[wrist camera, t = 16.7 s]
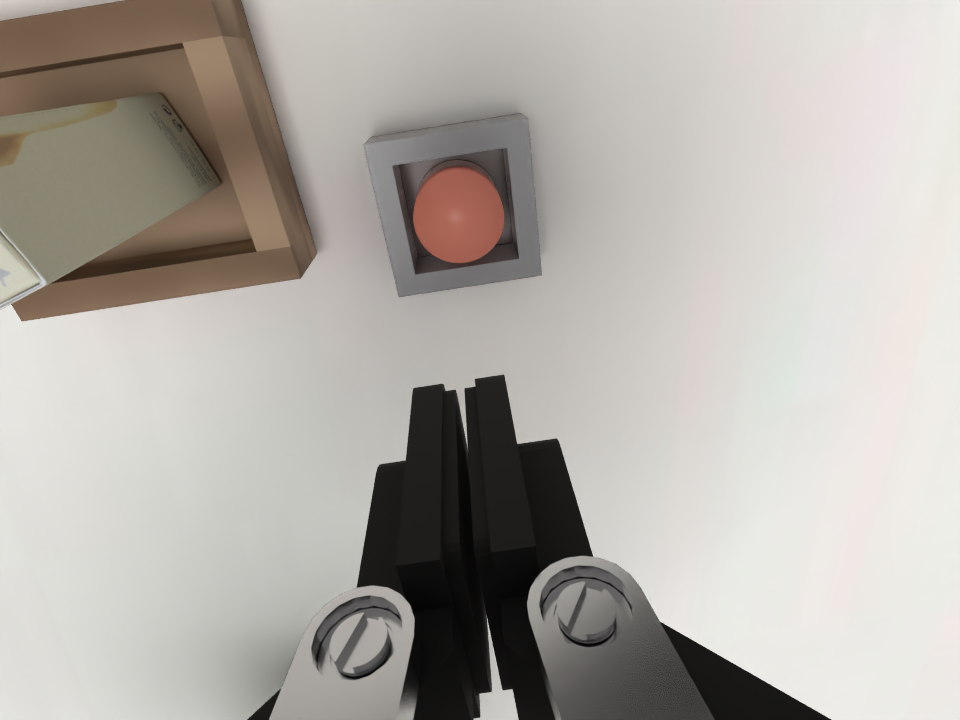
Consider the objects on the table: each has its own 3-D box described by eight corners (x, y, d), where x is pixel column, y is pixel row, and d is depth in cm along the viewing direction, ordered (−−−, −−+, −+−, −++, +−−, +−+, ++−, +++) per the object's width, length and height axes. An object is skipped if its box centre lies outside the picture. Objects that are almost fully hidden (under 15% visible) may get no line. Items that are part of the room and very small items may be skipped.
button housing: (534, 258, 28) (541, 275, 26) (402, 278, 28) (398, 297, 26) (520, 113, 25) (527, 118, 23) (370, 137, 25) (363, 144, 23)
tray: (316, 253, 27) (300, 278, 24) (68, 292, 28) (22, 321, 25) (239, -4, 22) (206, -13, 19) (-68, 47, 22) (-150, 46, 19)
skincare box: (162, 88, 23) (-91, 115, 12) (226, 185, 25) (59, 282, 14) (41, 155, 24) (-291, 234, 13) (113, 243, 26) (-124, 374, 15)
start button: (503, 236, 27) (509, 255, 25) (425, 248, 27) (422, 269, 25) (493, 153, 25) (498, 165, 23) (409, 167, 25) (404, 179, 23)
